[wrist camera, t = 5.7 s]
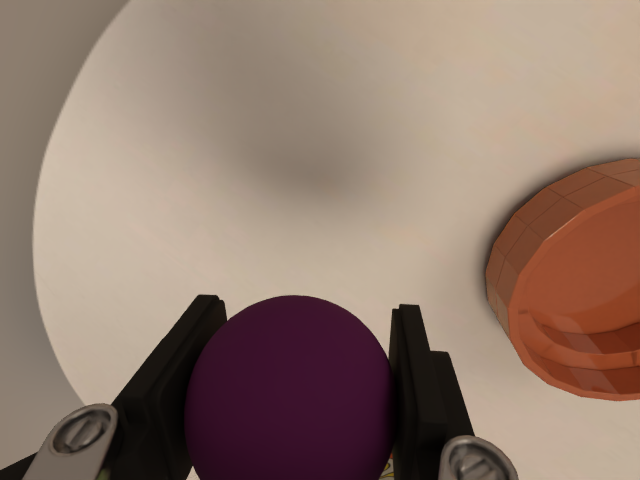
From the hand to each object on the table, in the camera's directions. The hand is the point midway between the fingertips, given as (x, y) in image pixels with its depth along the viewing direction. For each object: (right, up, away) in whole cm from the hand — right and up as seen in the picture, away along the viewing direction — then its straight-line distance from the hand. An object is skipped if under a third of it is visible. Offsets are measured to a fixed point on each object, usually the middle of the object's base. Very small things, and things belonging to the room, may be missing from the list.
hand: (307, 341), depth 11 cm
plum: (0, 0, 0) cm, 1 cm away
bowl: (+20, +1, +14) cm, 25 cm away
